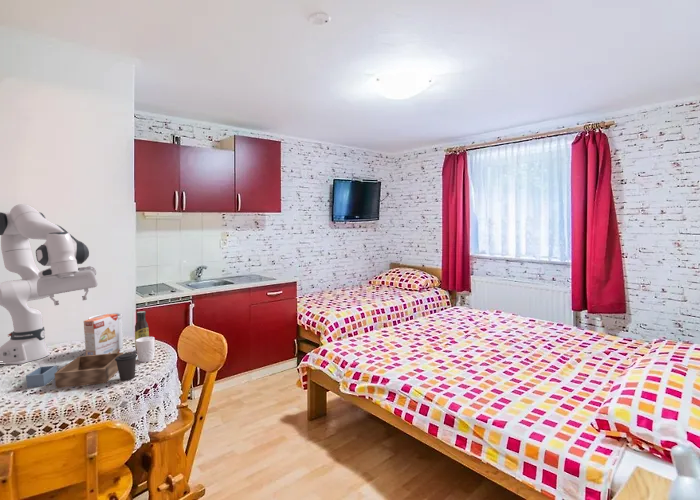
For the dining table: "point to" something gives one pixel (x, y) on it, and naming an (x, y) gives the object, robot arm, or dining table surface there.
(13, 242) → the robot arm
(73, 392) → the dining table surface
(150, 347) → the white cup
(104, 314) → the white container
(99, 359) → the big crate
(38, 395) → the dining table surface
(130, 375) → the coffee cup
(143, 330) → the sauce bottle
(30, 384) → the small crate
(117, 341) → the cracker box
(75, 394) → the dining table surface
